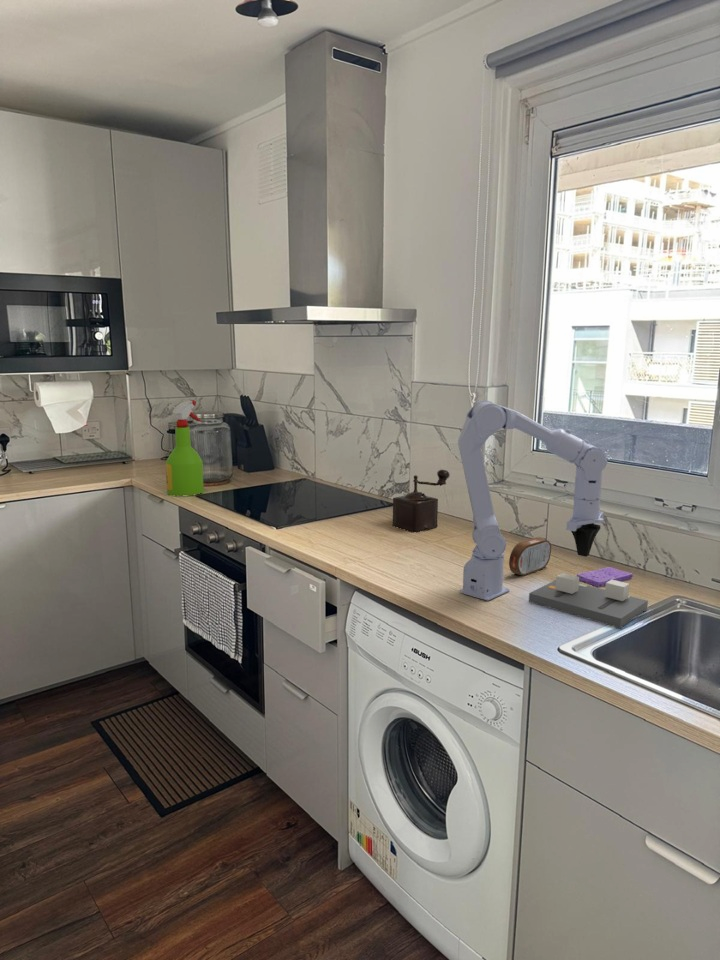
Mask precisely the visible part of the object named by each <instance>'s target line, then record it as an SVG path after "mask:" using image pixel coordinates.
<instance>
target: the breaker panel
mask: <svg viewBox="0 0 720 960" xmlns="http://www.w3.org/2000/svg"><path fill="white" fill-rule="evenodd" d="M528 602H529V603H532V604H536V605H538V606H543V607H547V608H550V609H554V610H557V611H560V612H563V613H568V614H572V615H575V616H578V617H581V618H584V619H588V620H591V621H595V622H600V623H602V624H606V625H610V626H612V625H614V626H613V627H616V628H619V629H621V628H622V627H623V626H625V625H626V624H628V623H629V622H631V621H633V620H634V619H636V617H638V616H640V615H641V614H642V613H644V612H645V611H647V610H648V603H649V601H648V600H646V599H643V598H638V597H635V596H631V595H629V596H628V598H627V599H625V600H624V601H620V600H616V599H612V598H608V597H605V589H604V588H603V589H602V588H601V587H597V586H593V585H592V586H591V585H587V584H585V583H580V582H579V587H578V591H576V592H575V593H573V594H570V593H567V592H563V591H559V590H556V579H555V580H553V581H551V582H549V583H547V584H544V585H543V586H541V587H539V588H537V589H535V590H533V591H531V592H529V593H528ZM646 609H647V610H646ZM643 611H644V612H643ZM639 614H640V615H639Z"/></svg>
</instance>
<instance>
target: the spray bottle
mask: <svg viewBox="0 0 720 960" xmlns="http://www.w3.org/2000/svg"><path fill="white" fill-rule="evenodd" d="M196 405H197V401H196V400H195V399H191V400H187V401H186V400H185V401H184V402H181V403H179V404H177V405H176V407H174V409H173V411H172V412H171V413H172V414H176V424H175V425H176V426H175V427H174V429H175V430H174V431H175V435H174V436H175V447H174V448H173V449H172V451H171V452H170V453H169V456H168V457H167V459H166V461H165V472H166V473H165V474H166V489H167V490H166V491H167V493H168V494H169V495H168V494H167V495H168V496H170V495H175V496H174V497H177V495H179V496H183V495H194V494H199V493H202V494H204V493H203V492H204V491H205V489H204V466H203V461H204V460H203V459H202V458H201V456H200V454H199V453H198V452H197V451H196V450H195V449H194V448H193V447H192V444H191V433H190V432H191V431H190V430H191V428H190V426H189V422H188V420H187V419H188V418H189V417H190V418H192V419H194V420H195V421H196V422H203V420H201V419H200V418H199V417H198V416H197V415H195V414H194V407H195V406H196Z"/></svg>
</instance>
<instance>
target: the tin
mask: <svg viewBox="0 0 720 960" xmlns="http://www.w3.org/2000/svg"><path fill="white" fill-rule="evenodd" d="M551 553H552V544H551V542H550V540H548V539H545V538H543V537H540V536H537V537H532V538H530V539H526V540H522V541H519V542H518V543H517V544H515V545H514V547H513V548H512V550H511V552H510V555H509V559H508V565H509V570H510V571H511V573H513V574H516V575H519V576H526V575H527V576H528V575H530V574H533V573H535V572H538V571H541V570H543V569H544V568H546V566H548V563H549V561H550V560H551V559H550V558H551Z"/></svg>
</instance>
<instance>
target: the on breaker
mask: <svg viewBox="0 0 720 960" xmlns="http://www.w3.org/2000/svg"><path fill="white" fill-rule="evenodd" d="M604 590H605V597H608V598H612V599H616V600H620V601H624V600H625V599H627V598H628V596H630V594H629V593H630V583H628V582H624V581H621V582H620V581H616V580H610V581H608V582H606V586H605V589H604Z"/></svg>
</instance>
